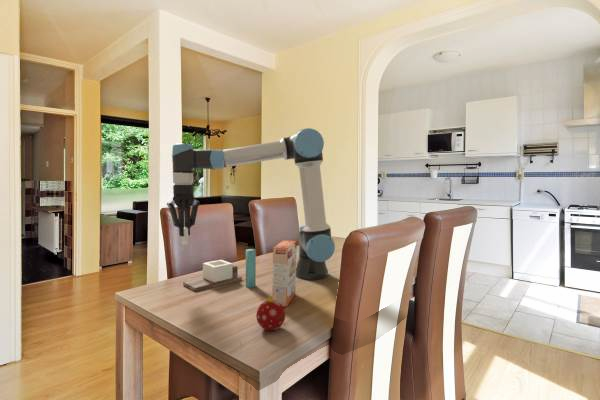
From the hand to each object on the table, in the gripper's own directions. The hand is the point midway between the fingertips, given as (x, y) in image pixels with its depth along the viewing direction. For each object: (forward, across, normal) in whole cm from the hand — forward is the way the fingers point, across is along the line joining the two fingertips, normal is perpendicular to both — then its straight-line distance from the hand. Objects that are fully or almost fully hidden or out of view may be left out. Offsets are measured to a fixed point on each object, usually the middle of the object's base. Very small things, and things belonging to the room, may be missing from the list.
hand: (184, 244), depth 135 cm
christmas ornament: (+19, -2, +50) cm, 53 cm away
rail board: (+18, -12, 0) cm, 22 cm away
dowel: (+19, -21, +14) cm, 32 cm away
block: (+17, -14, 0) cm, 22 cm away
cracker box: (+19, -21, +35) cm, 45 cm away
